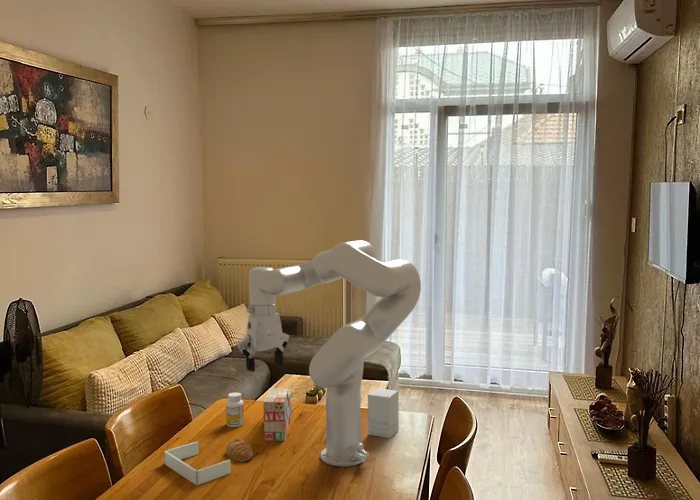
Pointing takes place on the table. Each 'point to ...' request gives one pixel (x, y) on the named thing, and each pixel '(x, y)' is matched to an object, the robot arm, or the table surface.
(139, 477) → the table surface
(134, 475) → the table surface
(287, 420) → the stack of blocks
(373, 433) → the supplement box
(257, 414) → the table surface
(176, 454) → the frame
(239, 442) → the pastry
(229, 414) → the supplement bottle
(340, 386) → the robot arm
